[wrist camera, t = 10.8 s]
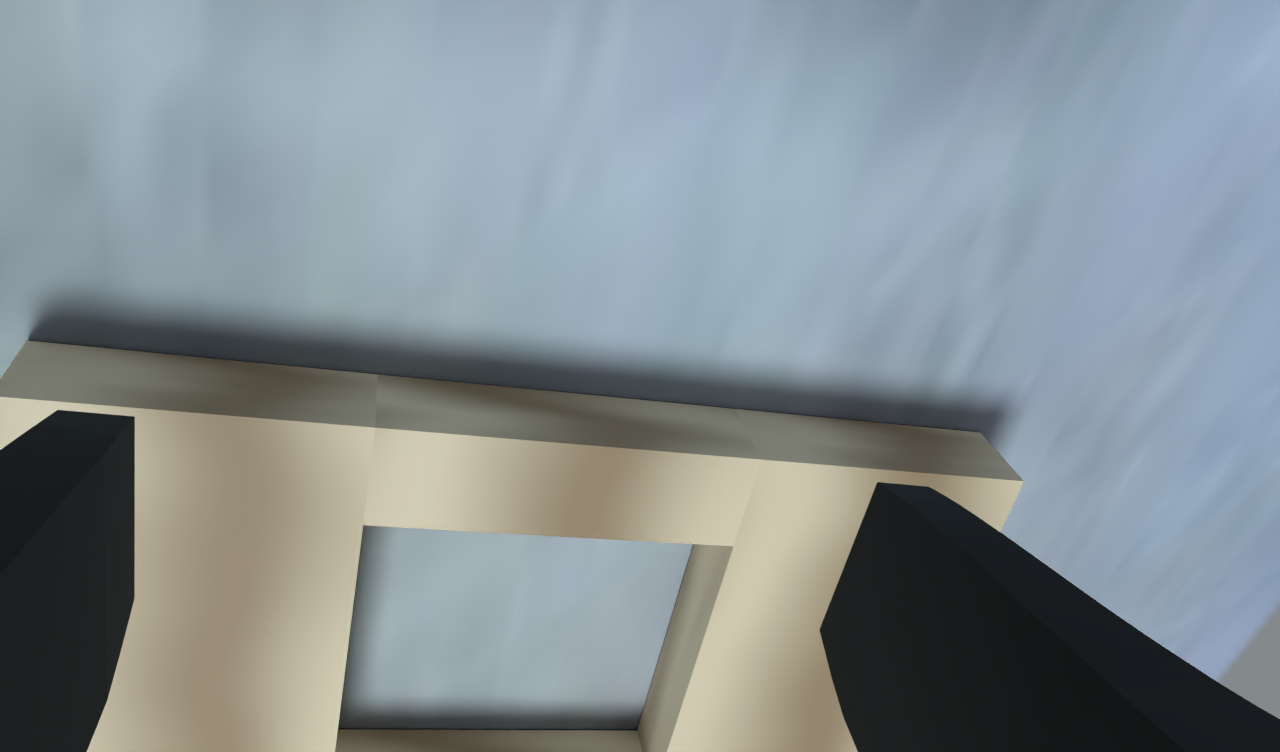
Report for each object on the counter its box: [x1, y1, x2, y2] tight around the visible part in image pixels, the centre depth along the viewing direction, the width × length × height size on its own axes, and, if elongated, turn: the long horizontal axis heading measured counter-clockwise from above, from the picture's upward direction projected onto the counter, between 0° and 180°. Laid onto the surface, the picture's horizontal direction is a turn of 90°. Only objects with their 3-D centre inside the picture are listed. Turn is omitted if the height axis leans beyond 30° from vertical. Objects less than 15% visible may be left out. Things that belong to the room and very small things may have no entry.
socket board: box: [0, 341, 1024, 752], centre depth 23 cm, size 20×12×2 cm, turn 77°
